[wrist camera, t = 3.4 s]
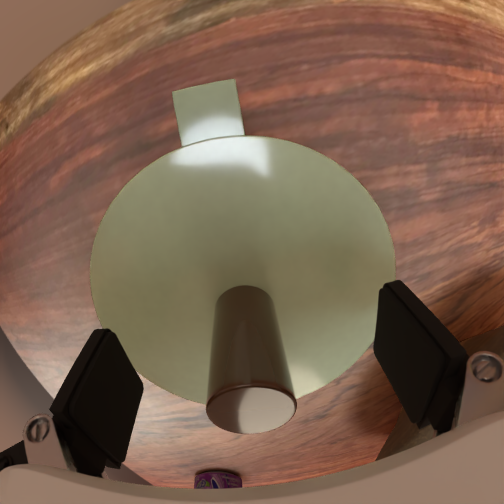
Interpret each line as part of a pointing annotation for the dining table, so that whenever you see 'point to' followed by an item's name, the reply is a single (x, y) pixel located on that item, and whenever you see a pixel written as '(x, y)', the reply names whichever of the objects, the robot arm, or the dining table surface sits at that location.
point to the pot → (208, 111)
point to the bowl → (410, 435)
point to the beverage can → (217, 480)
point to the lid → (242, 275)
